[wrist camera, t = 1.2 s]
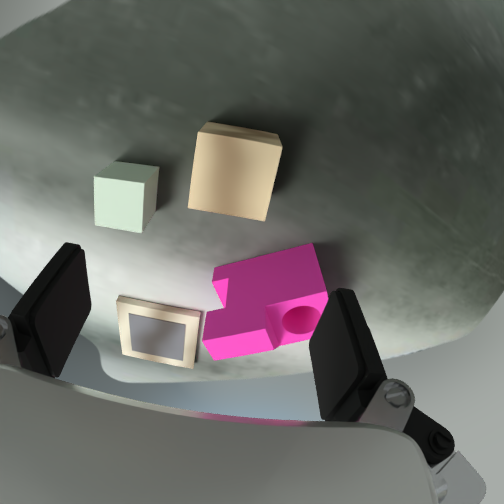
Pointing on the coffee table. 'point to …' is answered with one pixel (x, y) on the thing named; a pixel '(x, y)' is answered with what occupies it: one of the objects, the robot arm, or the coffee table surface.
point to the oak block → (234, 170)
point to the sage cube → (125, 196)
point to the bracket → (265, 303)
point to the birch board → (158, 332)
